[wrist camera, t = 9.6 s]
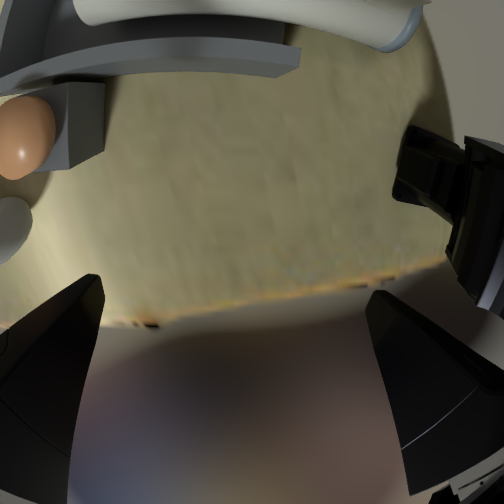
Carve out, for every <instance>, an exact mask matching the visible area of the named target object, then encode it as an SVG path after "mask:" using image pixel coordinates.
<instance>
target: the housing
mask: <svg viewBox="0 0 504 504" xmlns="http://www.w3.org/2000/svg"><path fill="white" fill-rule="evenodd" d="M285 24H286V22H281V21H275V20H269V19H261V18H253V17H244V16H232V15H212V14H184V15H165V16H153V17H144V18H136V19H129V20H123V21H117V22H111V23H106V24H102V25H97V26H90V25H87V24H86V23H84V22H83V21H82V20H81V19H80V17H79V16H78V14H77V12H76V10H75V7H74V4H73V0H5V2H4V5H3V8H2V12H1V15H0V97H2V96H8V95H14V94H22V93H27V94H24V95H21V96H18V97H24V96H39V97H41V98H43V99H44V100H46V101H47V103H48V104H49V105H50V107H51V109H52V111H53V114H54V118H55V125H56V134H55V141H54V145H53V149H52V151H51V154H50V156H49V157H48V159H47V160H46V162H45V163H44V164H43V165H42V166H41V167H40V168H38V169H36V170H35V171H33V172H31V173H35V172H44V171H55V170H67V169H71V168H73V167H74V166H76V165H78V164H80V163H82V162H84V161H85V160H87V159H89V158H91V157H93V156H95V155H97V154H99V153H101V152H103V151H104V103H105V87H106V84H105V83H89V82H80V81H85V80H90V79H96V78H103V77H109V76H117V75H126V74H136V73H149V72H173V71H198V72H222V73H236V74H246V75H256V76H264V77H271V78H277V77H279V76H281V75H283V74H285V73H288V72H290V71H292V70H294V69H296V68H299V62H300V55H301V48H298V47H292V46H287V45H283V39H284V31H285ZM15 98H17V97H15Z"/></svg>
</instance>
